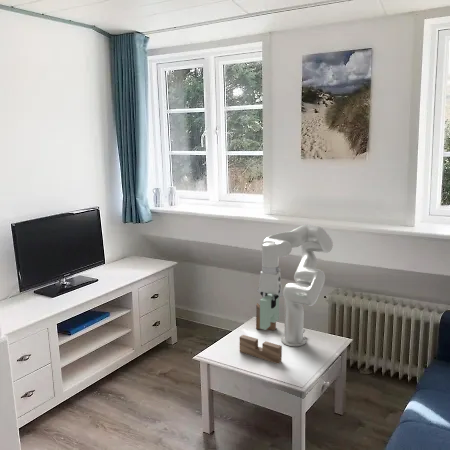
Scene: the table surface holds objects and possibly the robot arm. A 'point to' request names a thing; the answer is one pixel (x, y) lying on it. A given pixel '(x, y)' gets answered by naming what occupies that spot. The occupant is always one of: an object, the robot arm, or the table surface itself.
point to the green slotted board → (268, 312)
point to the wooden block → (272, 325)
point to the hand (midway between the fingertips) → (269, 306)
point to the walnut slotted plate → (261, 349)
